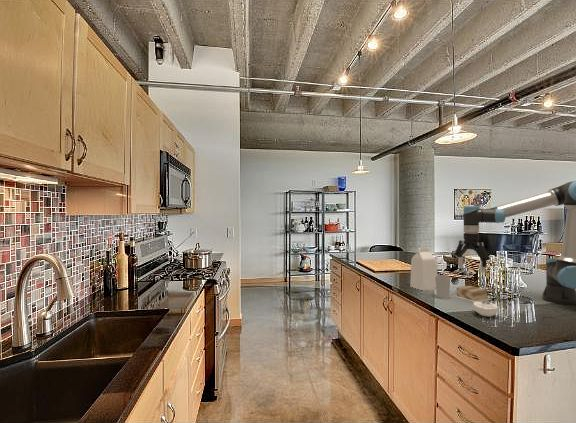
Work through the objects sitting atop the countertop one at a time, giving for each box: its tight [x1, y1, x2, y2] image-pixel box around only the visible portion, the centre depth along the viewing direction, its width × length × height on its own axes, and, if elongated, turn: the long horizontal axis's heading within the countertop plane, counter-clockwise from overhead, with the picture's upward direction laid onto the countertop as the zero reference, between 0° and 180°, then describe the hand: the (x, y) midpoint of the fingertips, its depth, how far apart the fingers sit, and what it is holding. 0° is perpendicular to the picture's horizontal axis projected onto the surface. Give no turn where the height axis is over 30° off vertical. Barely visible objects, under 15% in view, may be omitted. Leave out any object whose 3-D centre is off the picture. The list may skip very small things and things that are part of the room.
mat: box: [452, 294, 493, 303], centre depth 174 cm, size 14×14×1 cm
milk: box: [409, 246, 438, 292], centre depth 198 cm, size 12×12×26 cm
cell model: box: [473, 300, 500, 318], centre depth 145 cm, size 10×12×7 cm
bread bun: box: [456, 285, 488, 302], centre depth 174 cm, size 10×10×5 cm
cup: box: [435, 274, 451, 300], centre depth 175 cm, size 8×8×12 cm
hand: (471, 270), depth 174 cm, fingers open, 13 cm apart
